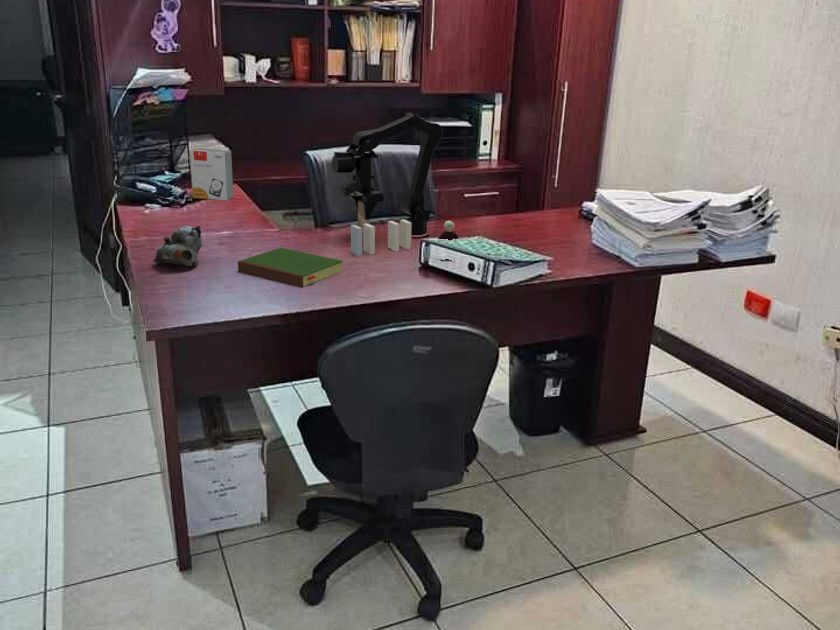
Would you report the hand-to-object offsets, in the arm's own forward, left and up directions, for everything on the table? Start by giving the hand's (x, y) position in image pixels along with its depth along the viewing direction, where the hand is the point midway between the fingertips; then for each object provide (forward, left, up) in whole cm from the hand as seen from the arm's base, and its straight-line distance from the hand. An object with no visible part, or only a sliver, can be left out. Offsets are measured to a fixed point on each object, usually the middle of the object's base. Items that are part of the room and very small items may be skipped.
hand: (363, 218), depth 249 cm
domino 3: (+4, +13, -8) cm, 16 cm away
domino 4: (-5, +13, -8) cm, 16 cm away
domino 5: (-9, +13, -8) cm, 18 cm away
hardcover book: (+34, +22, -9) cm, 42 cm away
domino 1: (+9, +13, -8) cm, 18 cm away
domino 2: (0, 0, -4) cm, 4 cm away
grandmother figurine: (-15, +31, -8) cm, 35 cm away
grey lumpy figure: (+62, +1, -8) cm, 63 cm away
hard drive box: (+26, -89, -8) cm, 93 cm away
